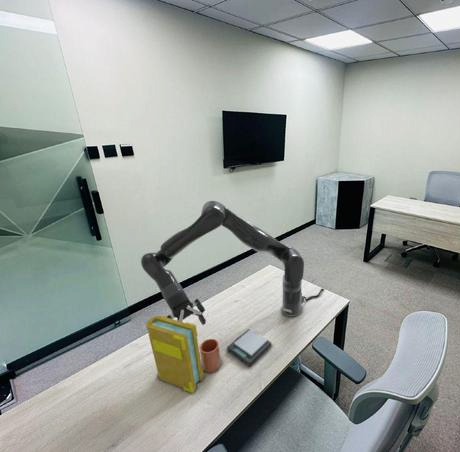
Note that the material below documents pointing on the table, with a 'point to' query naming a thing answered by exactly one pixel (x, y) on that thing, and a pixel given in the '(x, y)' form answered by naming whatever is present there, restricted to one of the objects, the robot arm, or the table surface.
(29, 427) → the table surface
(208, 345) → the cup
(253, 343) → the scale
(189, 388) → the book
